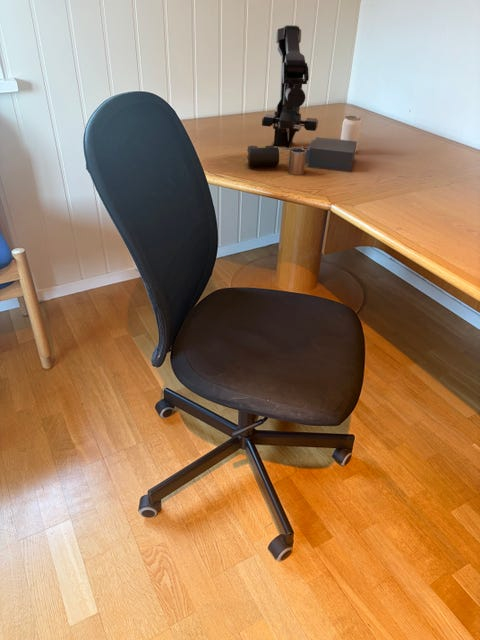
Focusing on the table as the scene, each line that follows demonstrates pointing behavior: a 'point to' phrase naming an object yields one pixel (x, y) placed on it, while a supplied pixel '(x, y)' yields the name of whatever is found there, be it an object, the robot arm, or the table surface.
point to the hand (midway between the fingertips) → (287, 147)
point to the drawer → (307, 151)
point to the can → (351, 129)
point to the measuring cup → (296, 160)
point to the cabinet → (332, 154)
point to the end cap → (263, 157)
